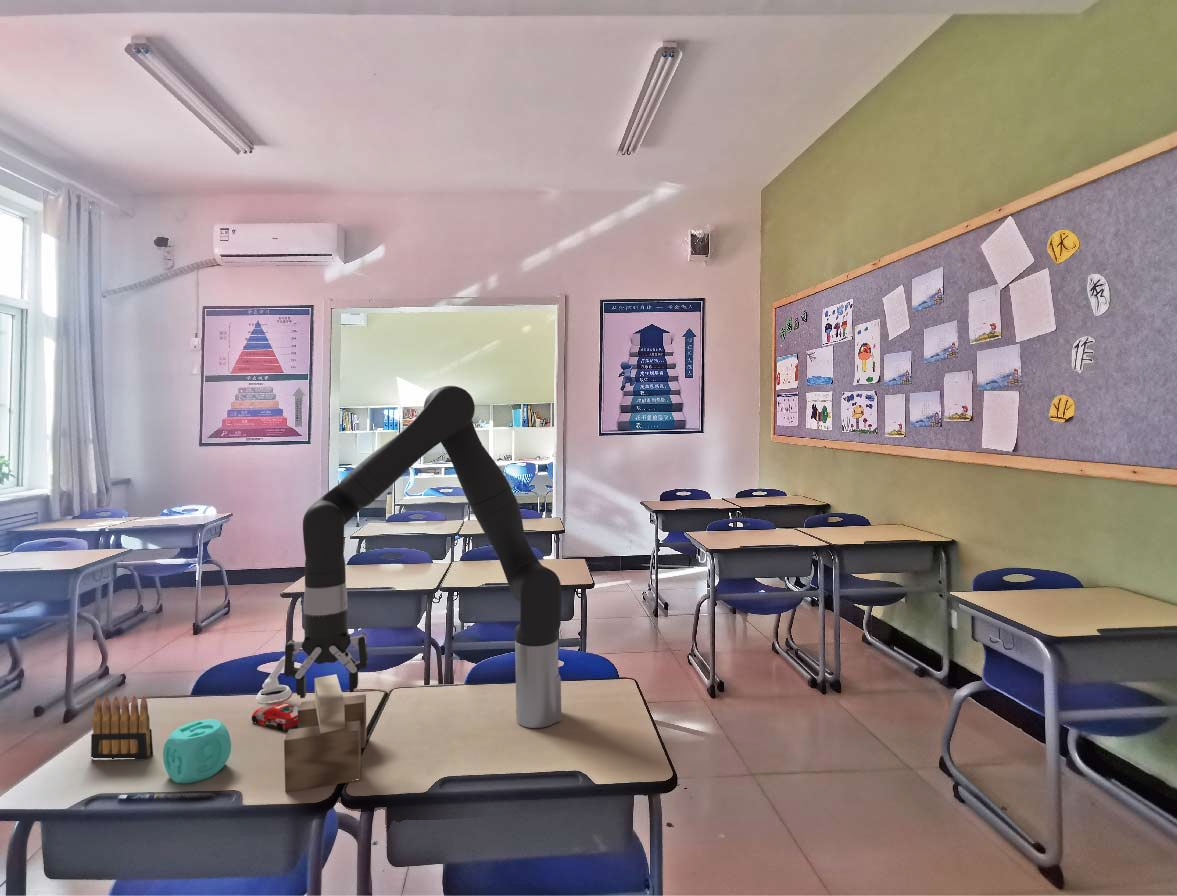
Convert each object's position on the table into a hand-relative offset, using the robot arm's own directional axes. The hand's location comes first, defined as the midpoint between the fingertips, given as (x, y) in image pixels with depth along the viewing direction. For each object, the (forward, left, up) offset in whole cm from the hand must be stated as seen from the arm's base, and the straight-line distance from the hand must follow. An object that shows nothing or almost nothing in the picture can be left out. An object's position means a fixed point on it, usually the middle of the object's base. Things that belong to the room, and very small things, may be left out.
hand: (327, 693), depth 114 cm
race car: (+13, -21, -14) cm, 28 cm away
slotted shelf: (0, 0, -13) cm, 13 cm away
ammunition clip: (+39, -14, -13) cm, 44 cm away
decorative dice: (+23, -4, -13) cm, 27 cm away
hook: (+17, -36, -13) cm, 42 cm away
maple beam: (0, 0, -4) cm, 4 cm away
